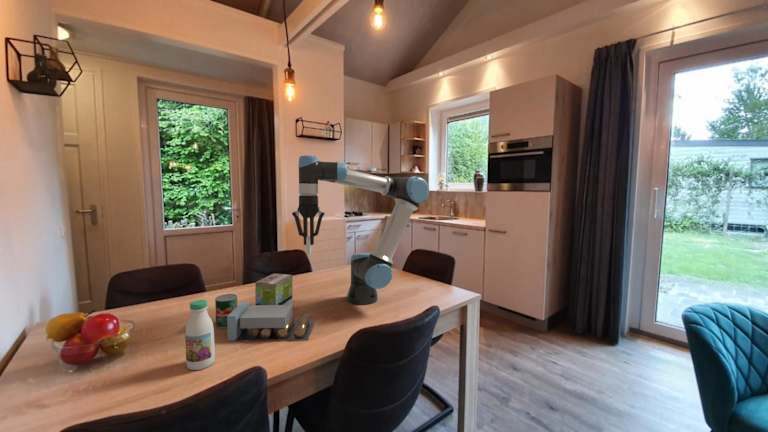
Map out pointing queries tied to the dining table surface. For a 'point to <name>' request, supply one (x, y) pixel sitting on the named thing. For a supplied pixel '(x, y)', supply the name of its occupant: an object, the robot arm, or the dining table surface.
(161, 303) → the dining table surface
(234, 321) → the block
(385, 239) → the robot arm
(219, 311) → the canned tomato
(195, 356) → the milk bottle
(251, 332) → the roller
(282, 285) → the tea box
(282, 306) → the slab
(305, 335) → the roller bed
